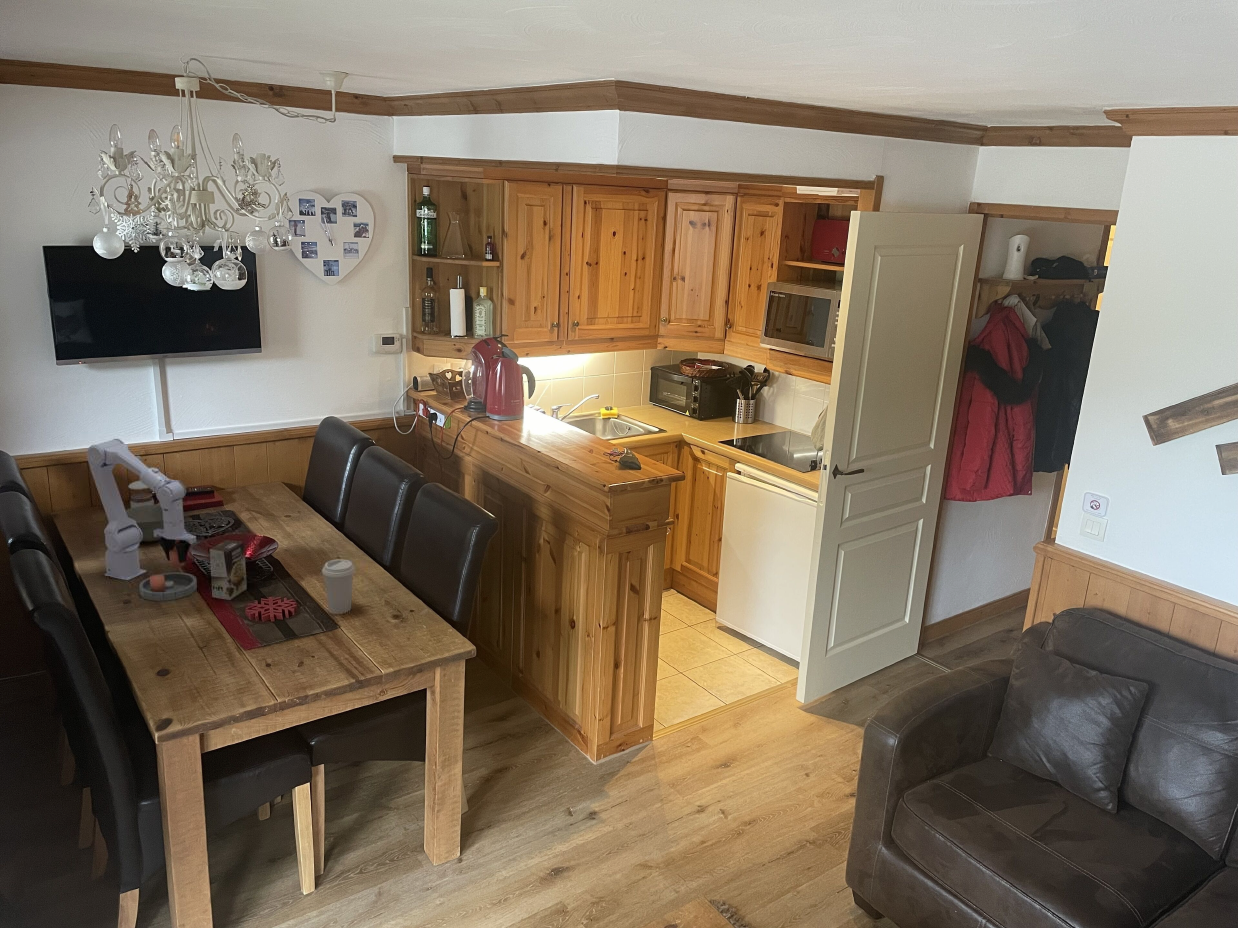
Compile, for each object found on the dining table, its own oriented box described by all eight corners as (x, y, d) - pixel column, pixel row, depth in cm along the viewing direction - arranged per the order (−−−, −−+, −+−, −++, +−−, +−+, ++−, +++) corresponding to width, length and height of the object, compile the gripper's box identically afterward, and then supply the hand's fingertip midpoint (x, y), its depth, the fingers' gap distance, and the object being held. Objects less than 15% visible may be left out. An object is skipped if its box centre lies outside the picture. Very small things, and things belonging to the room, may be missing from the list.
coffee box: (230, 600, 282) (227, 551, 277) (211, 597, 283) (208, 549, 278) (247, 588, 290) (245, 541, 286) (229, 586, 291) (226, 538, 287)
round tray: (127, 595, 281) (127, 587, 280) (167, 576, 295) (166, 569, 295) (170, 604, 276) (169, 597, 276) (208, 585, 291) (207, 577, 290)
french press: (129, 516, 343) (123, 453, 336) (164, 514, 348) (158, 451, 341) (128, 525, 335) (122, 460, 328) (163, 522, 340) (158, 458, 333)
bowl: (186, 543, 322) (184, 516, 319) (126, 552, 312) (123, 524, 309) (176, 526, 337) (174, 501, 334) (118, 534, 326) (116, 508, 324)
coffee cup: (346, 600, 286) (345, 555, 282) (361, 610, 280) (360, 565, 276) (317, 608, 280) (316, 563, 276) (332, 619, 273) (331, 573, 269)
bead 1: (148, 593, 280) (146, 578, 279) (157, 588, 284) (156, 573, 283) (158, 595, 279) (157, 580, 278) (168, 590, 283) (167, 575, 282)
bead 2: (167, 566, 287) (166, 551, 285) (176, 561, 290) (175, 547, 289) (177, 568, 285) (176, 553, 284) (187, 563, 289) (186, 549, 288)
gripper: (202, 519, 285) (205, 560, 289) (164, 512, 289) (167, 552, 293) (185, 526, 279) (188, 568, 283) (147, 519, 283) (150, 560, 287)
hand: (176, 560), depth 287 cm, fingers closed on bead 2, 4 cm apart
